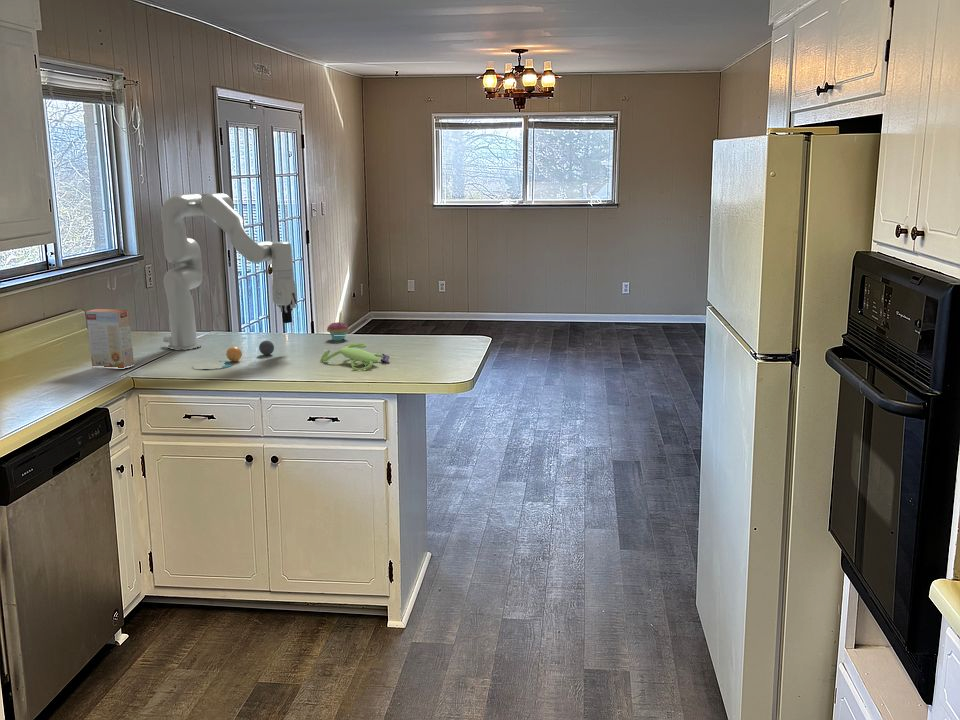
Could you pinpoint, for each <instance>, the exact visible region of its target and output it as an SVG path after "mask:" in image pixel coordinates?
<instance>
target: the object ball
mask: <svg viewBox="0 0 960 720" xmlns="http://www.w3.org/2000/svg"><path fill="white" fill-rule="evenodd" d="M242 356H243V352H242V349H241V348H240V347H239V346H231V347H228V348H227V350H226V358H227V360H229V362H232V363H233V362H237V361H240V359H242Z"/></svg>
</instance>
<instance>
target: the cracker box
mask: <svg viewBox="0 0 960 720" xmlns="http://www.w3.org/2000/svg"><path fill="white" fill-rule="evenodd" d="M85 313H86V323H87V330H88V339H89V348H90V358H91V366H104V367H118V368H124V367H127V366H131V365H133V364H134V365H135V360H134V351H133V350H134V349H133V341H132V331H131V323H130V322H131V321H130V313H129V310H128V309H111V308H109V309H108V308H107V309H105V308H94V309H90V310H86V311H85Z"/></svg>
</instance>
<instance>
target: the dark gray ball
mask: <svg viewBox="0 0 960 720" xmlns="http://www.w3.org/2000/svg"><path fill="white" fill-rule="evenodd" d="M258 349H259V352H260V353H261V354H263V355H264V356H269V355H271V354H272V353H273V352H274V351H275V345H274V343H273V342H272V341H270V340H262V341H261V342H260V344H259V346H258Z"/></svg>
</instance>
